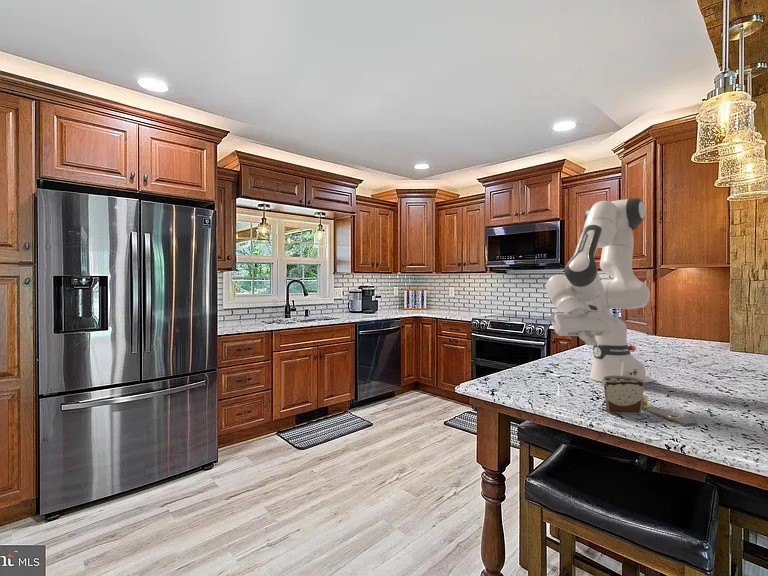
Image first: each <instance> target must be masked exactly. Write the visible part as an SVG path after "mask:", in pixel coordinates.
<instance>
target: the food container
mask: <svg viewBox="0 0 768 576" xmlns="http://www.w3.org/2000/svg"><path fill="white" fill-rule="evenodd" d="M601 386H602V387H603V389H604V391H603V392H604V400H605V410H606V413H607V412H608V413H607V414H609V413H641V414H642V410H641V407H642V398H643V395H644V388H646V387H647V385H646V383H645V382H644V380H642V379H639V378H634V377H628V376H605V377H604V378H603V380H602V382H601Z"/></svg>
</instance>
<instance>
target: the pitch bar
mask: <svg viewBox="0 0 768 576" xmlns="http://www.w3.org/2000/svg"><path fill="white" fill-rule="evenodd" d="M648 397H649V396H647V395H644V394H643V398H642V407H641V409H642V410H641V411H645V412H646V411H647V412H646V413H649V412H650V413H649V414H652V415H654V414H655V416H657V417H660V418H662V417H663V418H662V419H666V420H667V421H670V420H671V422H673V423H675V424H678V423H679V425H680V426H684V427H686V426H696V425H695V424H697V425H698V422H697V421H695V420H692V419H689V418H686V417H684V416H681V415H678V414H675V413H673V412H671V411H667V410H664V409H661V408H658V407H655V406H653V405H650V404H648V400H649V399H648Z"/></svg>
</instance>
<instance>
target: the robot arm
mask: <svg viewBox="0 0 768 576" xmlns="http://www.w3.org/2000/svg"><path fill="white" fill-rule="evenodd" d="M646 210H647V209H646V206H645V203H644V202H643V200H642V199H641V198H637V197H631V198H630V197H629V198H627V199H626V198H625V199H618V200H612V201H609V200H601V201H598V202H596V203H594V204H593V205H592V206H590V207H588V208H587V209H586V210H585V212H584V214H583V222H584V224H583V230H582V232H581V234H580V237H579V240H578V243H577V246H576V248H575V250H574V254H572V256H571V258H570V259H569V261H568V262H567V263H566V264H565V266H564V271H563V273H564V274H554V275H552V276H551V277H550V278H549V279H548V280H547V281H546V284H545V290H546V294H547V296H548V298H549V300H550V301H551V303H552V305H554V307H555V309H556V311H551V312H550V313H549V314H548V317H549V319H550V321H551V325H552V328H553V331H554V332H555V334H556V335H558V336H560V337H578V338H579V339H581V341H583V342H584V343H585V344H586V346H592V352H593V358H592V366H591V370H590V375H589V377H588V378H589V379H590V380H593V381H597V382H601V383H602V380H603V378H604V377H605V376H628V377H634V378H639V379H642V380H644V382H645V384H646V383H652V382H653V381H654V378H652V377H650V376H647V375H646V368H645V365H644V364H643V363H642V362H641V361H640V360H638V359H637V358H636V357H635V356H633V355H632V354H631V352H636V350H637V347H636V345H632V344H631V345H628V344H627V342H628V339H627V338H628V337H627V335H628V329H627V328H628V327H627V325H626V323H625V322H624V321H623V319H622V320H621V319H619V318H618V317H616V316H614V315H613V314H612V313H611V310H610V309H617V310H634V309H635V310H636V309H641V308H644V307H645V306H647V304H648V303H649V301H650V299H651V290H650V289H649V287H648V285H647V284H646V283H645V282H643V281H641V280H640V279H639V278H638V277H636V275H635V273H634V271H633V256H634V247H635V243H634V242H635V240H634V239H635V238H634V232H633V231H635V230H637V229H638V227H639V226H640V225H641V224H642V223H643V222H644V220H645V218H646V213H647V211H646ZM601 248H602V249H601ZM598 249H601V255H600V261H599V268H600V270H601V271H602V272H603V273H604V274H606V275H607V276H610V277H612V278H613V279H611V280H607V279H606V280H601V276H600V274H599V270H598V266H597V262H596V260H595V255H596V252H597V250H598Z"/></svg>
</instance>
